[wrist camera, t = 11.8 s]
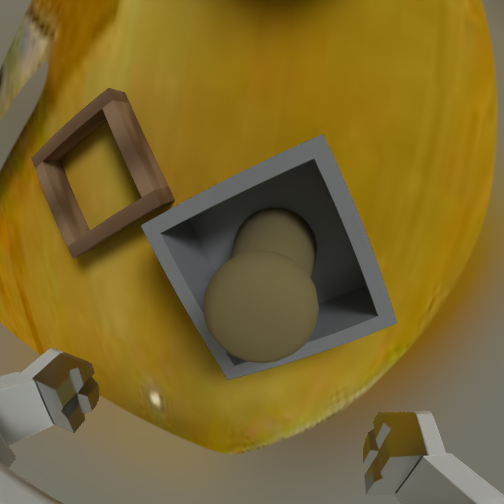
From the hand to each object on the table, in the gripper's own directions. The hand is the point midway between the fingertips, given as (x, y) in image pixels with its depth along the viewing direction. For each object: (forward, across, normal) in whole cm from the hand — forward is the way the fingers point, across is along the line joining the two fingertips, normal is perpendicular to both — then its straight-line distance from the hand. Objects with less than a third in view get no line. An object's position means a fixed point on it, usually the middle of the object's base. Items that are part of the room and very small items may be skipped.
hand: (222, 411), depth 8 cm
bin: (+17, 0, 0) cm, 17 cm away
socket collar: (+17, +16, -4) cm, 24 cm away
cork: (+16, 0, 0) cm, 16 cm away
